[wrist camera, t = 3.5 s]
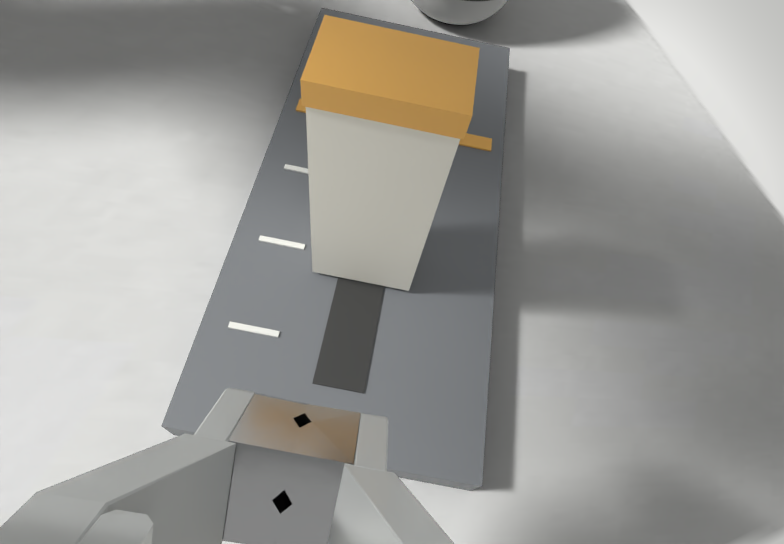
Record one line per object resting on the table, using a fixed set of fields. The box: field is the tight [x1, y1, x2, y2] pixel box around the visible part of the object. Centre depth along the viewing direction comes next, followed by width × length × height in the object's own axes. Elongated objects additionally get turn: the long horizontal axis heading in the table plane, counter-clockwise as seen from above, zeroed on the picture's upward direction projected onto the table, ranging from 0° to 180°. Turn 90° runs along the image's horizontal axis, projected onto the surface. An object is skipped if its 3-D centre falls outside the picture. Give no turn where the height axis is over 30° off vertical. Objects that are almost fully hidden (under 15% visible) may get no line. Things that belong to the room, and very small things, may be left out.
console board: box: [162, 8, 510, 491], centre depth 29 cm, size 30×14×2 cm, turn 171°
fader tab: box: [300, 15, 480, 291], centre depth 21 cm, size 3×5×12 cm, turn 81°
